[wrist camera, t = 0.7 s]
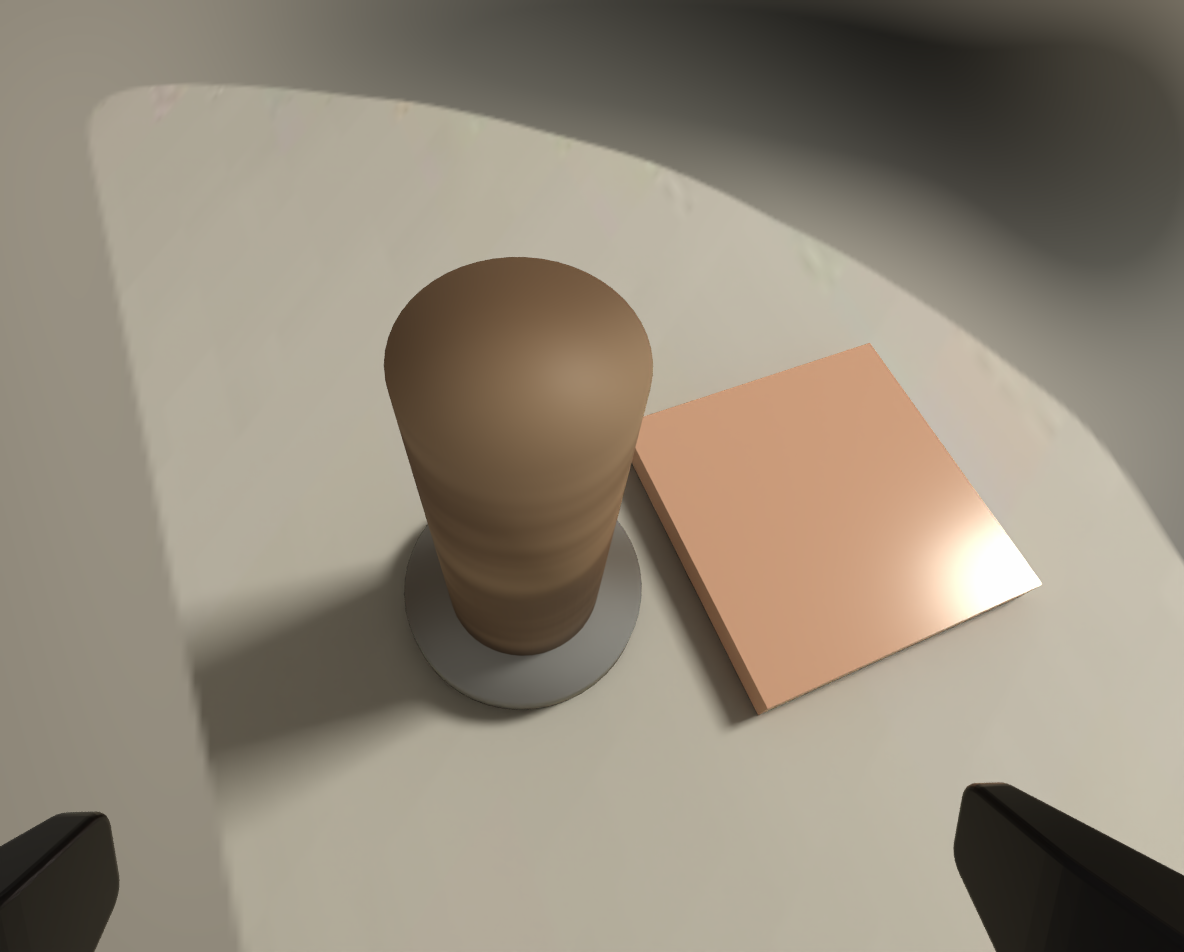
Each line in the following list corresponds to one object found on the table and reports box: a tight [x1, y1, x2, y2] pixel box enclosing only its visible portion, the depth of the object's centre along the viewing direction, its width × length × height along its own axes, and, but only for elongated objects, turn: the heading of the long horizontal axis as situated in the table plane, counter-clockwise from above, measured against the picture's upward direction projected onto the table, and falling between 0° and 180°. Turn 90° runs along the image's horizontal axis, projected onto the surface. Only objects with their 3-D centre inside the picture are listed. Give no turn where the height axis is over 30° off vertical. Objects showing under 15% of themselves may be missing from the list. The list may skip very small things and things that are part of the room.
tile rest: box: [632, 343, 1042, 715], centre depth 24 cm, size 10×10×1 cm
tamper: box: [384, 257, 653, 710], centre depth 17 cm, size 7×7×12 cm
